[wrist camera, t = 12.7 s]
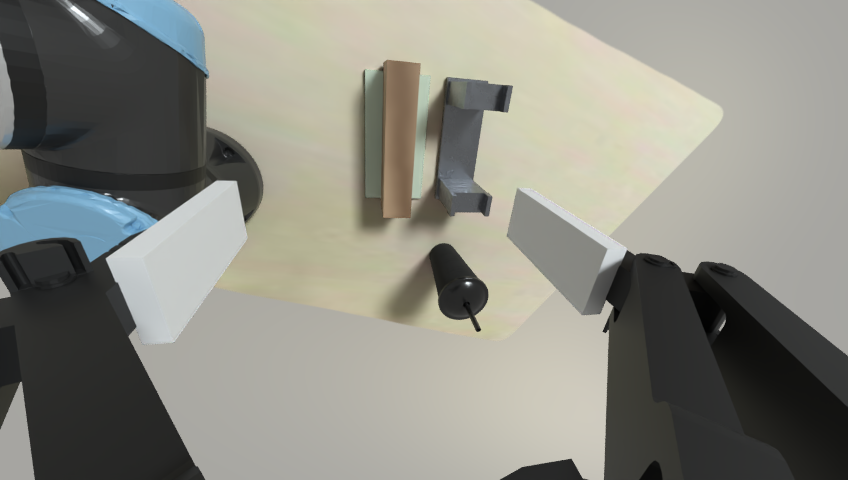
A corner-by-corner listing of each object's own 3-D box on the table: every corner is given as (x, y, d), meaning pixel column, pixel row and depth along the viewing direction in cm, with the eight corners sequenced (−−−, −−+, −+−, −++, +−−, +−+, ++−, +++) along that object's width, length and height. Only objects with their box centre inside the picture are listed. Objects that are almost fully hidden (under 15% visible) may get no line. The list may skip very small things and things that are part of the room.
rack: (434, 197, 52) (449, 219, 44) (446, 77, 45) (466, 76, 36) (468, 198, 54) (488, 219, 45) (486, 81, 46) (514, 81, 37)
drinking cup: (449, 228, 56) (491, 296, 38) (469, 257, 59) (515, 331, 42) (414, 251, 56) (439, 328, 39) (435, 278, 60) (467, 360, 43)
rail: (380, 203, 51) (383, 217, 45) (383, 62, 42) (387, 59, 36) (405, 203, 51) (410, 217, 46) (412, 65, 43) (420, 63, 37)
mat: (365, 196, 50) (365, 197, 50) (365, 69, 42) (365, 69, 42) (420, 197, 52) (420, 198, 51) (429, 75, 44) (430, 75, 43)
